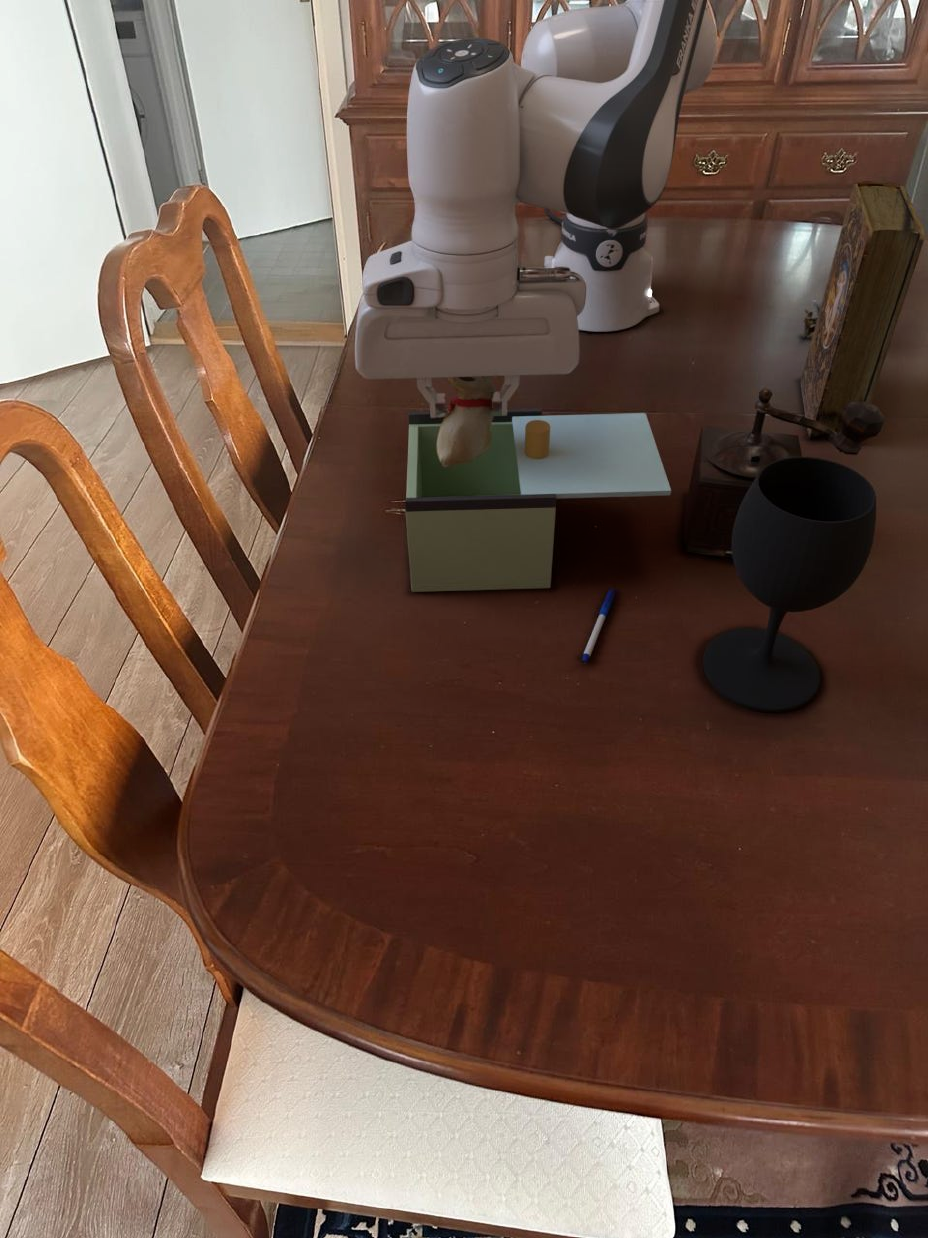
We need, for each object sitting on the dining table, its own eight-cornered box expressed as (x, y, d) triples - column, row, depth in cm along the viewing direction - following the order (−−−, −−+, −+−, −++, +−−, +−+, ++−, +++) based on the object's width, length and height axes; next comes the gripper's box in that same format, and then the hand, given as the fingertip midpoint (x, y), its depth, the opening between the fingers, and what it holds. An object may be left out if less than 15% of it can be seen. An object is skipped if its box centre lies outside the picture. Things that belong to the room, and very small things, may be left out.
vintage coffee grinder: (682, 556, 93) (712, 402, 81) (685, 495, 101) (713, 346, 89) (837, 574, 91) (892, 418, 78) (828, 510, 99) (877, 359, 86)
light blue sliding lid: (512, 421, 94) (512, 390, 91) (645, 417, 94) (649, 386, 91) (521, 499, 84) (522, 467, 81) (670, 495, 84) (676, 463, 81)
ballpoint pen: (606, 591, 89) (607, 584, 88) (615, 593, 89) (616, 586, 88) (580, 663, 82) (581, 656, 81) (590, 666, 82) (591, 658, 81)
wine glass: (753, 729, 76) (812, 546, 63) (678, 653, 83) (716, 472, 69) (845, 686, 80) (919, 503, 66) (765, 616, 86) (818, 437, 73)
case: (414, 498, 101) (408, 411, 94) (537, 495, 102) (541, 407, 94) (411, 592, 90) (404, 501, 82) (550, 588, 90) (556, 497, 82)
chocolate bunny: (515, 444, 87) (515, 348, 81) (448, 471, 84) (442, 373, 78) (483, 421, 91) (481, 327, 84) (417, 446, 88) (409, 351, 81)
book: (799, 377, 120) (852, 179, 103) (842, 380, 119) (902, 181, 102) (808, 442, 109) (869, 231, 91) (855, 446, 108) (926, 234, 91)
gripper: (583, 251, 78) (573, 393, 87) (349, 258, 78) (364, 399, 87) (592, 281, 73) (580, 428, 83) (344, 288, 73) (360, 434, 83)
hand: (468, 413), depth 85 cm, fingers closed on chocolate bunny, 4 cm apart
